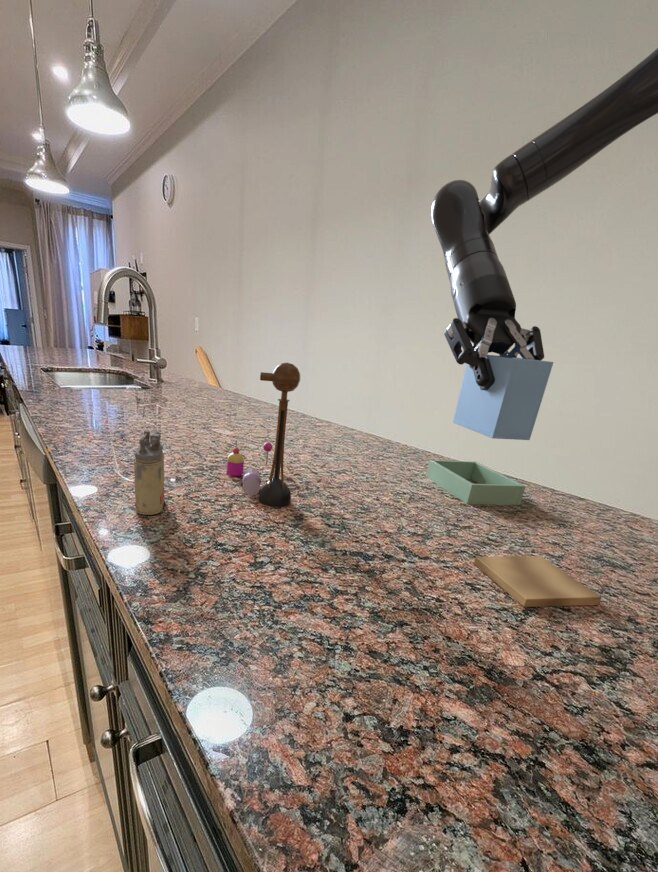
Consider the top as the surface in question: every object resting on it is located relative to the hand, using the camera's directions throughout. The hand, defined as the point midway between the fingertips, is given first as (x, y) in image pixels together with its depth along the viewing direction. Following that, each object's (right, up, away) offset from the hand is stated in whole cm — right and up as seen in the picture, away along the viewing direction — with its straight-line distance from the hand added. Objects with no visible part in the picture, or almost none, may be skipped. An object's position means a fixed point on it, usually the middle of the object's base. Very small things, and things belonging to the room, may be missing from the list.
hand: (509, 387), depth 60 cm
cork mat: (-2, -25, -9) cm, 27 cm away
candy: (-36, -11, +17) cm, 41 cm away
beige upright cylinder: (-49, -16, +2) cm, 51 cm away
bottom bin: (+1, -15, +16) cm, 21 cm away
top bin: (-1, -5, +4) cm, 7 cm away
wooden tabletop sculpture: (-32, -15, +8) cm, 36 cm away
